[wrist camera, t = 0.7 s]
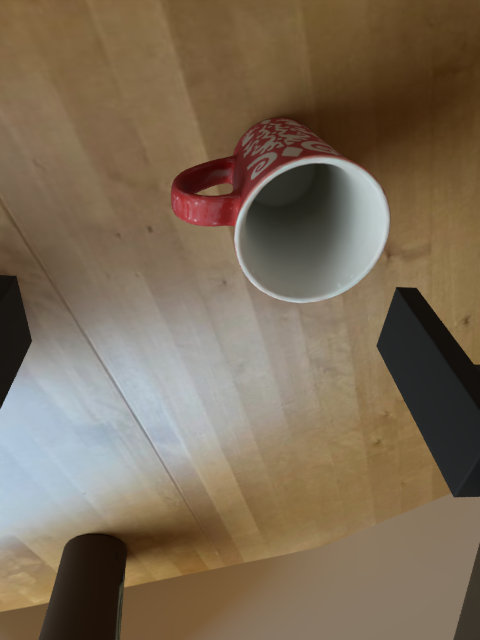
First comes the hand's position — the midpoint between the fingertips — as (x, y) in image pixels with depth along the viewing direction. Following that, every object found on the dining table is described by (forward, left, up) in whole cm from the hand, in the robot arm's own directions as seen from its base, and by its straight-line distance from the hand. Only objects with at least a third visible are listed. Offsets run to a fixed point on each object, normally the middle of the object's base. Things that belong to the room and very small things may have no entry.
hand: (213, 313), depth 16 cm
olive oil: (+63, +5, -23) cm, 67 cm away
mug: (0, +4, -23) cm, 24 cm away
